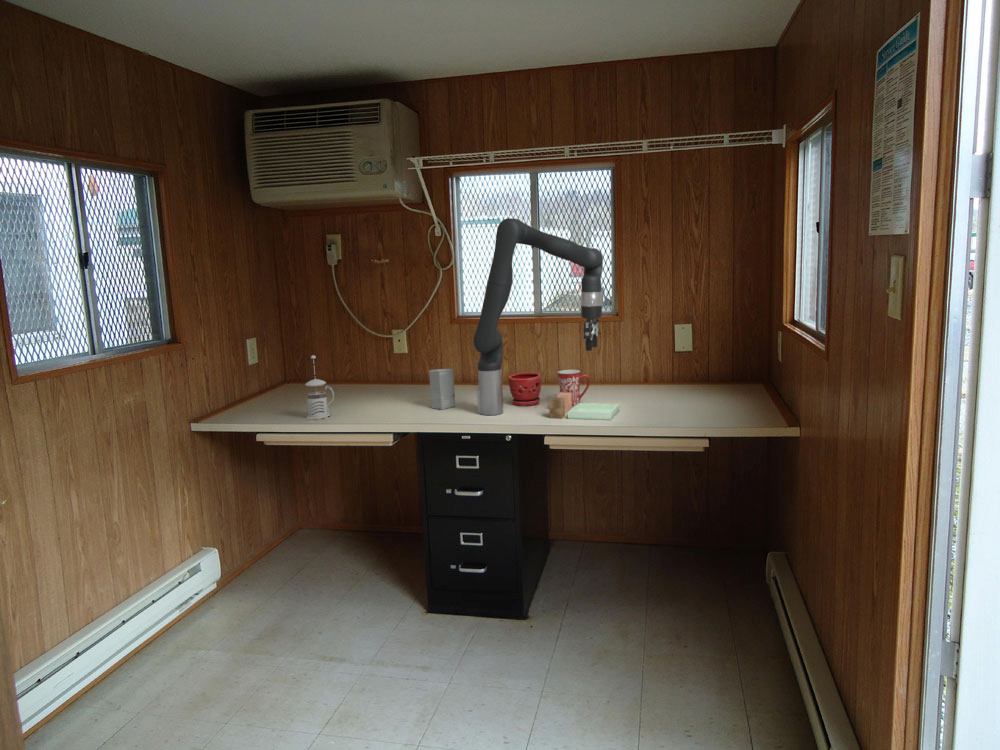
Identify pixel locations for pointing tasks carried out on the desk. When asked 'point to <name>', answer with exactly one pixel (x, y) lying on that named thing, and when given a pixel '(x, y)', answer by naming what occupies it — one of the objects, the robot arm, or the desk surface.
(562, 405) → the walnut block
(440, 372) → the skincare box
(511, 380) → the plant pot
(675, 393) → the desk surface
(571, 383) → the mug
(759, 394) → the desk surface
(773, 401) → the desk surface
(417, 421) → the desk surface
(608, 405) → the tray
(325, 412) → the french press
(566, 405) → the terracotta block
